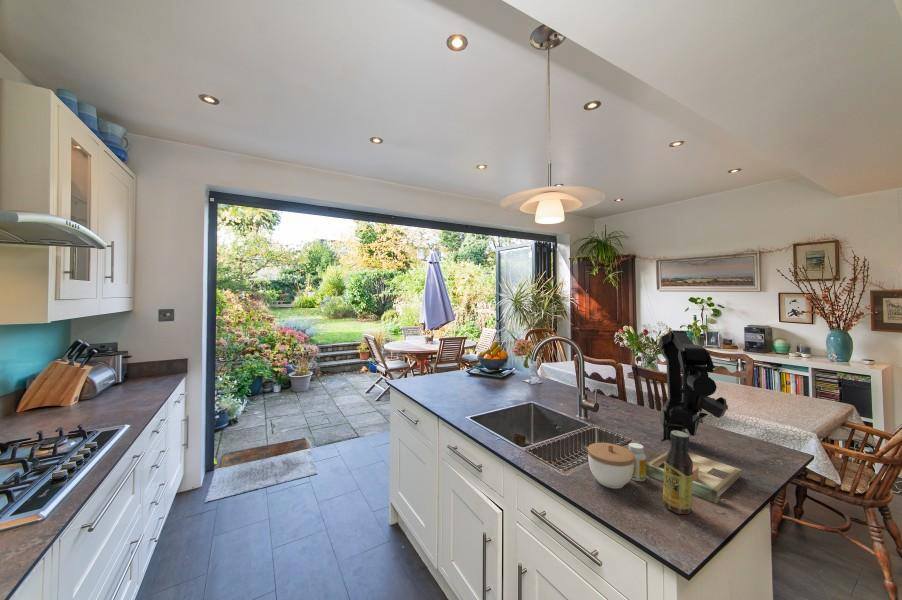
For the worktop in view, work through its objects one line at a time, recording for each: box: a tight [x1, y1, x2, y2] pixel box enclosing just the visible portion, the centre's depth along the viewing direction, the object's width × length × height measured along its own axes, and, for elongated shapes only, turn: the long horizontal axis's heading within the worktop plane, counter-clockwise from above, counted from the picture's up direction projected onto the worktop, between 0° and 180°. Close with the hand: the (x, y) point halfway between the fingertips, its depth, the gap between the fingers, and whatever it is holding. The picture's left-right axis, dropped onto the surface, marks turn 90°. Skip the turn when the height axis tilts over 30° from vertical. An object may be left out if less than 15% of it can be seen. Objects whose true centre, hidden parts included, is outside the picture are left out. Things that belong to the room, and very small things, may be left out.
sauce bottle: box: [662, 431, 693, 515], centre depth 88 cm, size 7×6×20 cm
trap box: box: [646, 450, 742, 504], centre depth 105 cm, size 18×25×3 cm
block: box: [692, 466, 699, 481], centre depth 101 cm, size 6×6×4 cm
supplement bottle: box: [628, 442, 647, 482], centre depth 103 cm, size 5×5×10 cm
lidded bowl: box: [587, 442, 635, 490], centre depth 101 cm, size 13×13×11 cm
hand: (692, 435), depth 108 cm, fingers closed
